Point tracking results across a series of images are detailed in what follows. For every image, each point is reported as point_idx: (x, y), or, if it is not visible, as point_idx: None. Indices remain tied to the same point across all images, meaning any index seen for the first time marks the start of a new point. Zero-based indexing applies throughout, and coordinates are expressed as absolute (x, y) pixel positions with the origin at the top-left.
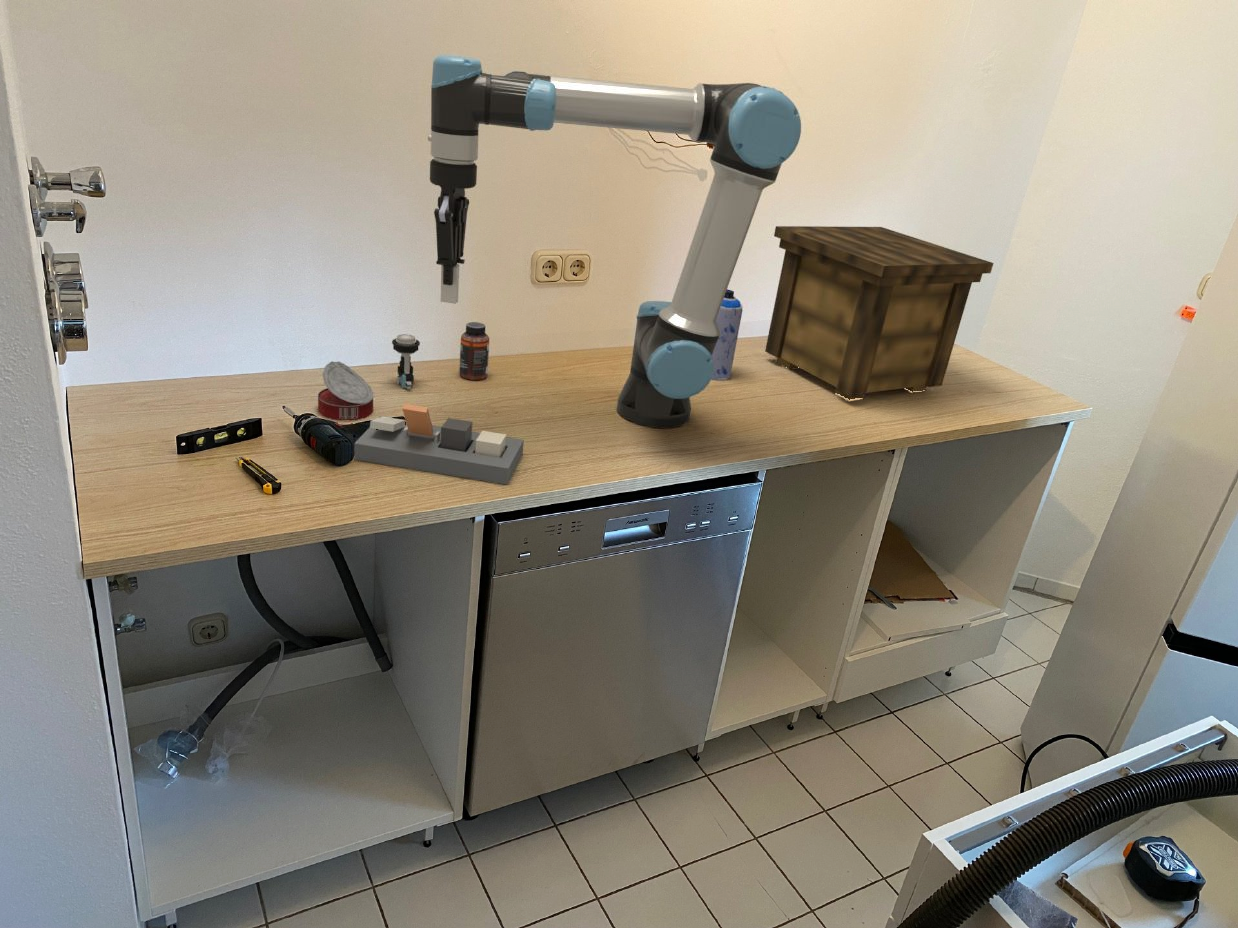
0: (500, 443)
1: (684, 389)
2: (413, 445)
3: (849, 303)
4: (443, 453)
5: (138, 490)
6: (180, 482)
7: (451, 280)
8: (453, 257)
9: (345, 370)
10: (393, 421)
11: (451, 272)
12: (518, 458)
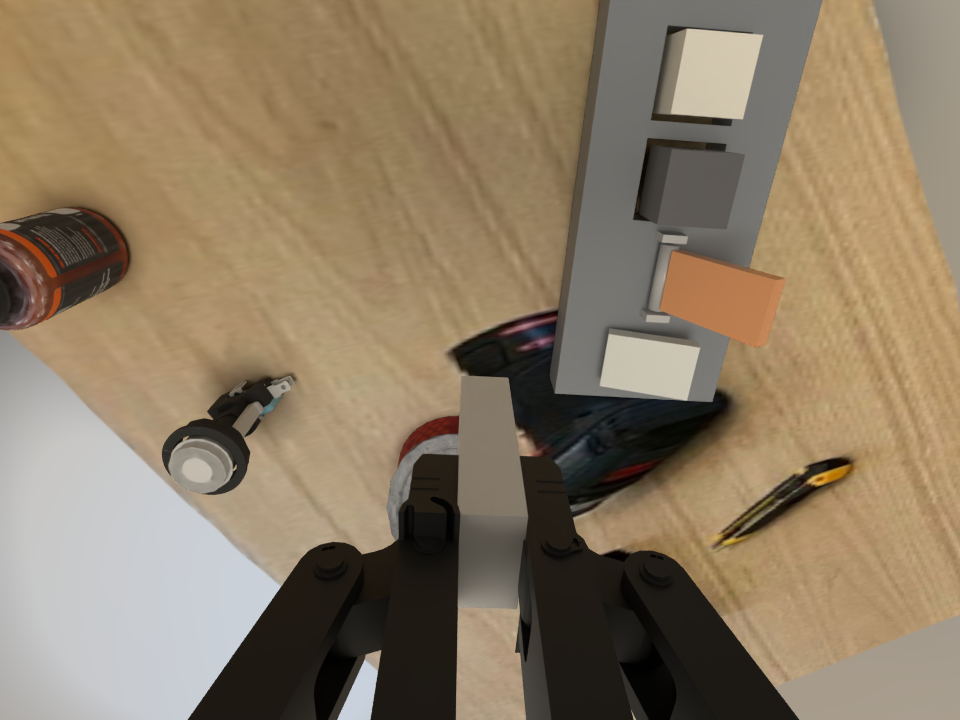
0: (758, 36)
1: None
2: None
3: None
4: (742, 201)
5: (840, 615)
6: (812, 583)
7: (555, 477)
8: (649, 601)
9: None
10: (652, 355)
11: (568, 515)
12: None
